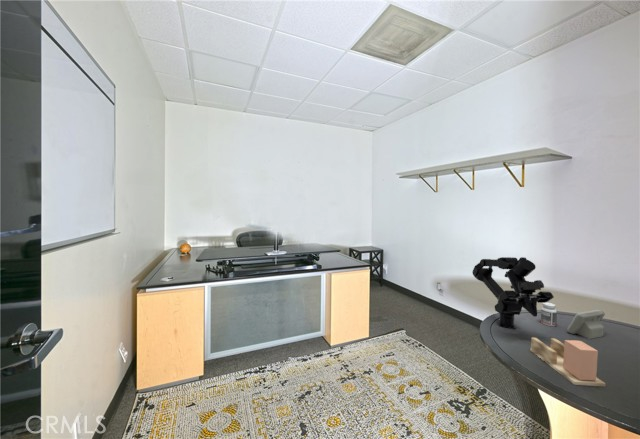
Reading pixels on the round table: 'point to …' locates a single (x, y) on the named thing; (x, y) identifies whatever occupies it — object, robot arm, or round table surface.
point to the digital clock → (587, 324)
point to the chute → (558, 360)
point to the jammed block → (580, 360)
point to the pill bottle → (548, 314)
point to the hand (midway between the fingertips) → (535, 316)
